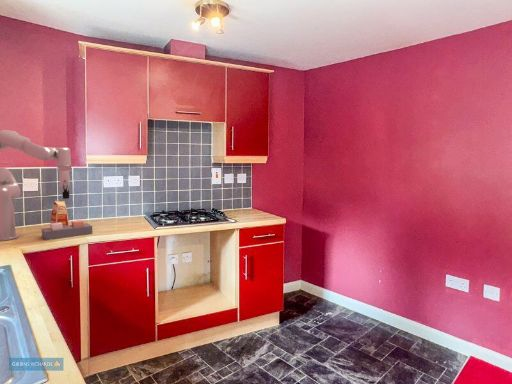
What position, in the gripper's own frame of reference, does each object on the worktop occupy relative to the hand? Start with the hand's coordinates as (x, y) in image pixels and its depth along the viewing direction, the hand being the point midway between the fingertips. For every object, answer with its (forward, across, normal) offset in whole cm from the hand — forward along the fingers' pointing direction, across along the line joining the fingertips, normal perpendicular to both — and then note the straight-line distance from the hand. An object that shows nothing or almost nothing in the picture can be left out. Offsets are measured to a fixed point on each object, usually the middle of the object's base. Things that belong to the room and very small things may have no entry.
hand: (66, 197), depth 220 cm
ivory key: (+21, -5, -7) cm, 23 cm away
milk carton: (+24, -24, -5) cm, 35 cm away
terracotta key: (+21, -8, +5) cm, 23 cm away
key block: (+24, -7, -1) cm, 25 cm away
